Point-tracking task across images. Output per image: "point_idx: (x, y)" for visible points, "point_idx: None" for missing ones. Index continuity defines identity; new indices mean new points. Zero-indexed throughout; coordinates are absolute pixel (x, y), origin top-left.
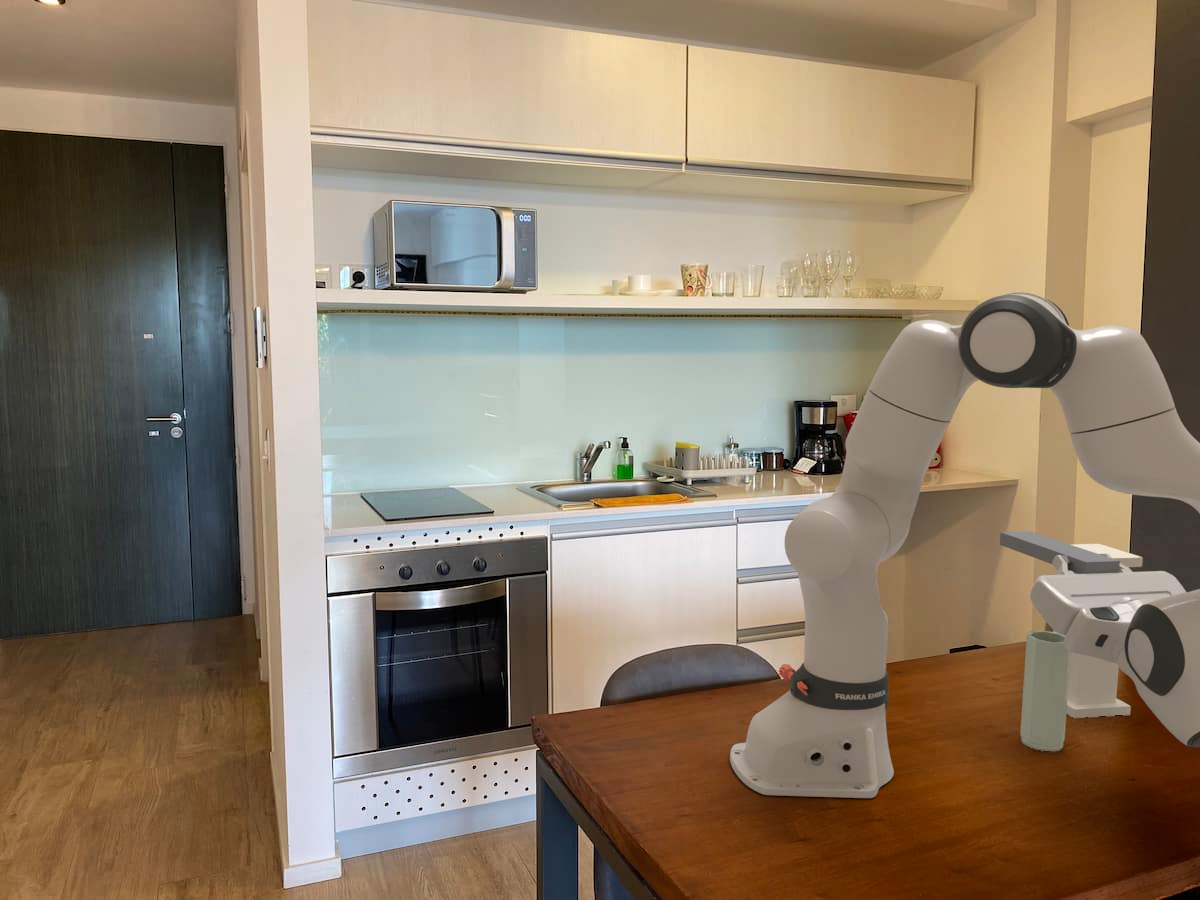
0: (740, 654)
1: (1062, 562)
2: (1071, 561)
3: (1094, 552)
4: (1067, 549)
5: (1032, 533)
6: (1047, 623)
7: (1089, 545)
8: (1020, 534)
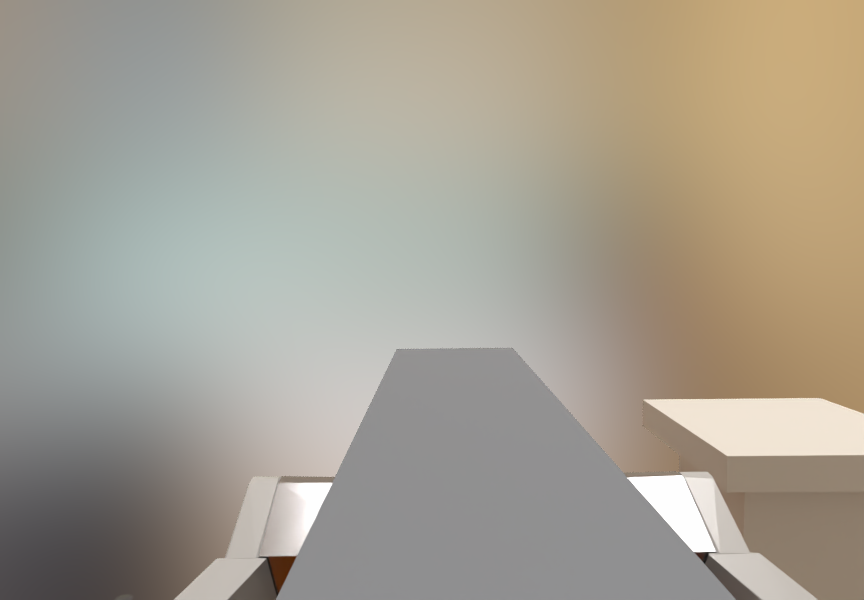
0: (124, 596)
1: (228, 553)
2: None
3: (785, 427)
4: (468, 426)
5: (502, 353)
6: None
7: (783, 403)
8: (445, 355)
